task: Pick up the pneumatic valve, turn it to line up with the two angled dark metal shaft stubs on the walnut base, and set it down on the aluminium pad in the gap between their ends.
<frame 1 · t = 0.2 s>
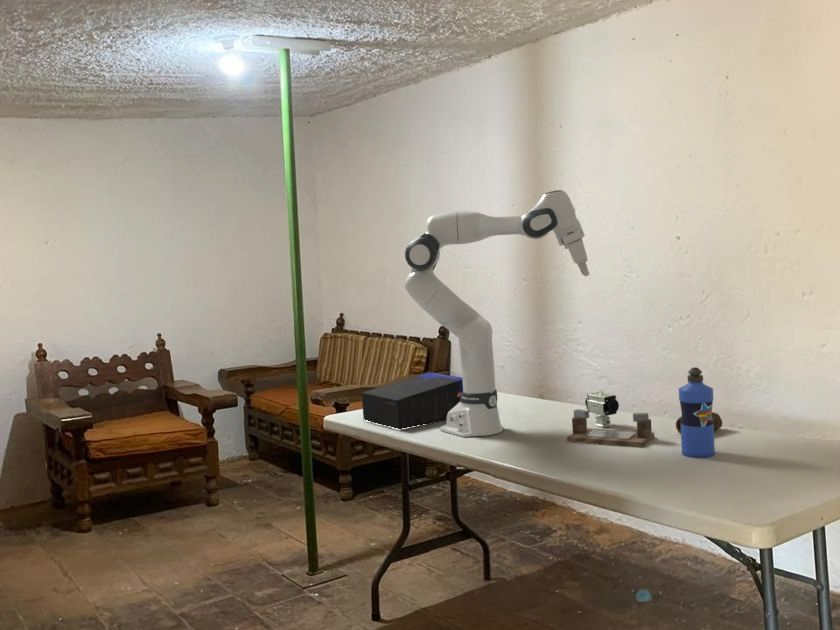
hand: (586, 274, 272), 51 cm above the table, tool tilted 20°, fingers open, 8 cm apart
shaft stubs: (610, 423, 259), point 5 cm above the table
shaft rig base: (610, 439, 259), on the table
pneumatic valve: (601, 427, 277), on the table
water bottle: (698, 454, 237), on the table
brown wooden cylinder: (699, 434, 260), on the table
headphone box: (419, 418, 311), on the table
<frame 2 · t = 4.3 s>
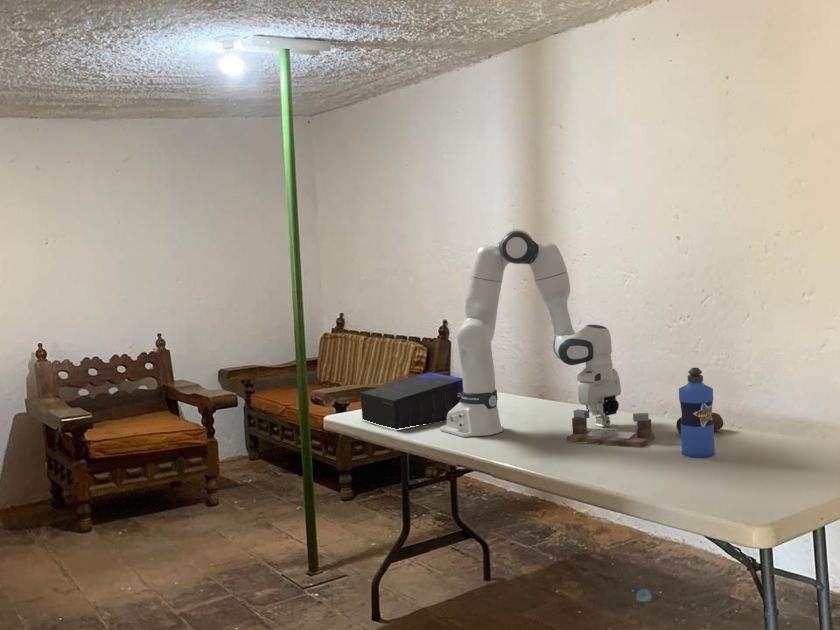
hand: (601, 413, 276), 5 cm above the table, tool pointing down, fingers closed on pneumatic valve, 5 cm apart
pneumatic valve: (601, 427, 277), on the table, touching gripper
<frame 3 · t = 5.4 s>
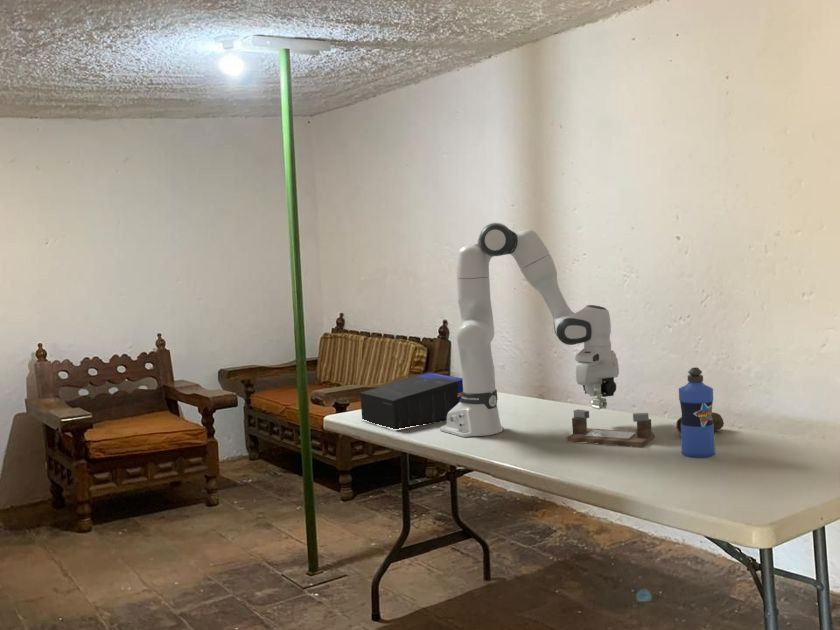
hand: (598, 394, 276), 11 cm above the table, tool pointing down, fingers closed on pneumatic valve, 5 cm apart
pneumatic valve: (598, 409, 276), point 6 cm above the table, touching gripper
everything else where it was.
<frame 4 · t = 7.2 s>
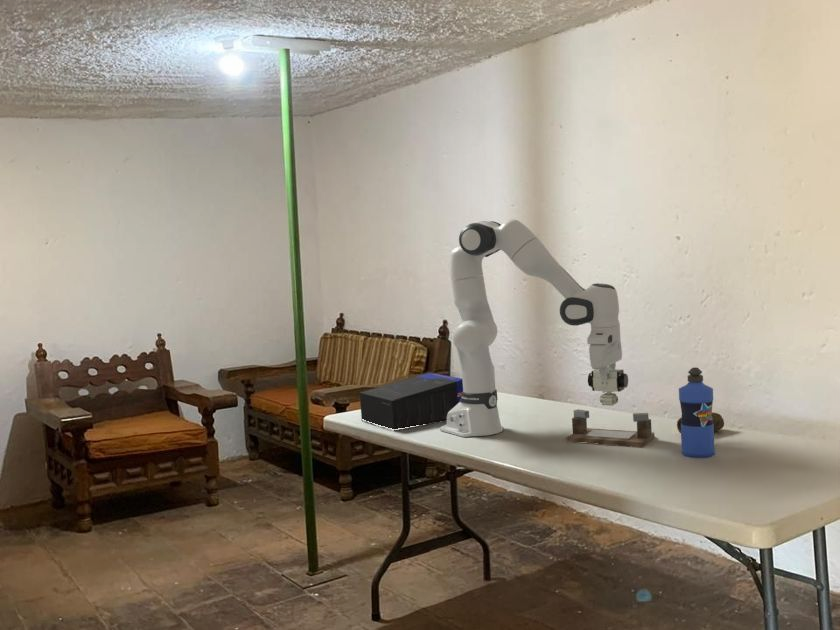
hand: (608, 378, 258), 19 cm above the table, tool pointing down, fingers closed on pneumatic valve, 5 cm apart
pneumatic valve: (608, 405, 259), point 11 cm above the table, touching gripper
when the fingers open (10 cm above the table, at t = 8.6 s): pneumatic valve stays where it is, resting on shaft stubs.
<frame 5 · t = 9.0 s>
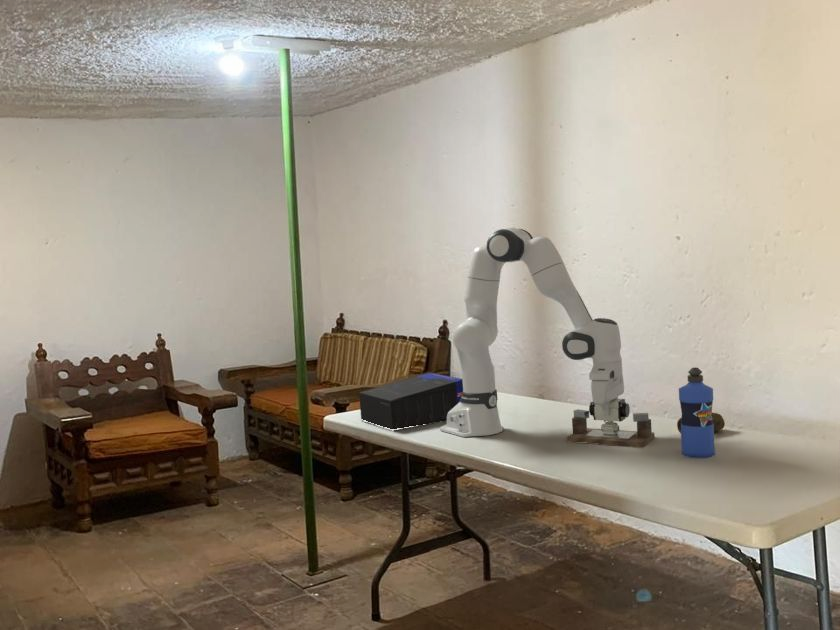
hand: (610, 413, 258), 8 cm above the table, tool pointing down, fingers open, 5 cm apart
pneumatic valve: (610, 434, 259), point 2 cm above the table, touching gripper, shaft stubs
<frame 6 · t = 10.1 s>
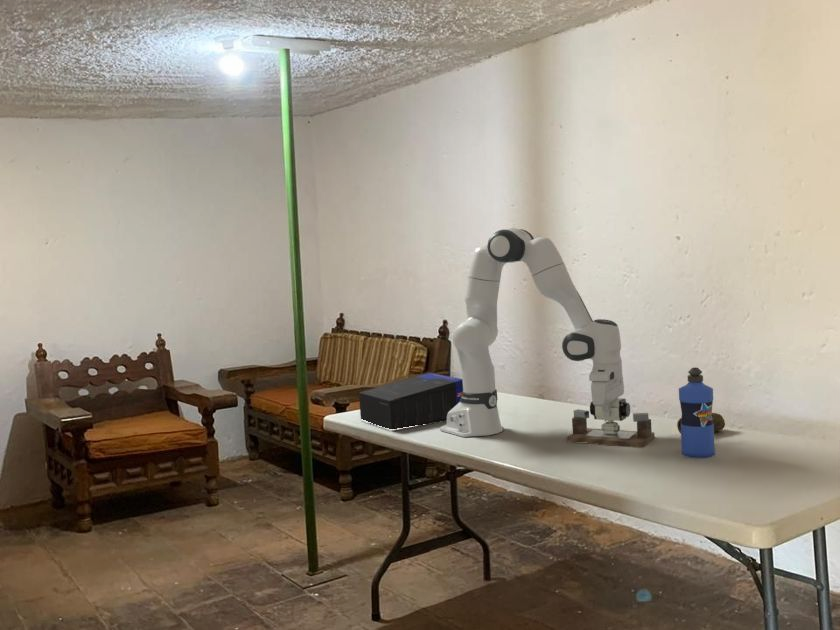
hand: (610, 414, 258), 8 cm above the table, tool pointing down, fingers closed on pneumatic valve, 4 cm apart
pneumatic valve: (610, 434, 259), point 2 cm above the table, touching gripper, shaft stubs
when the fingers open (8 cm above the table, at t = 10.1 s): pneumatic valve stays where it is, resting on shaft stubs.
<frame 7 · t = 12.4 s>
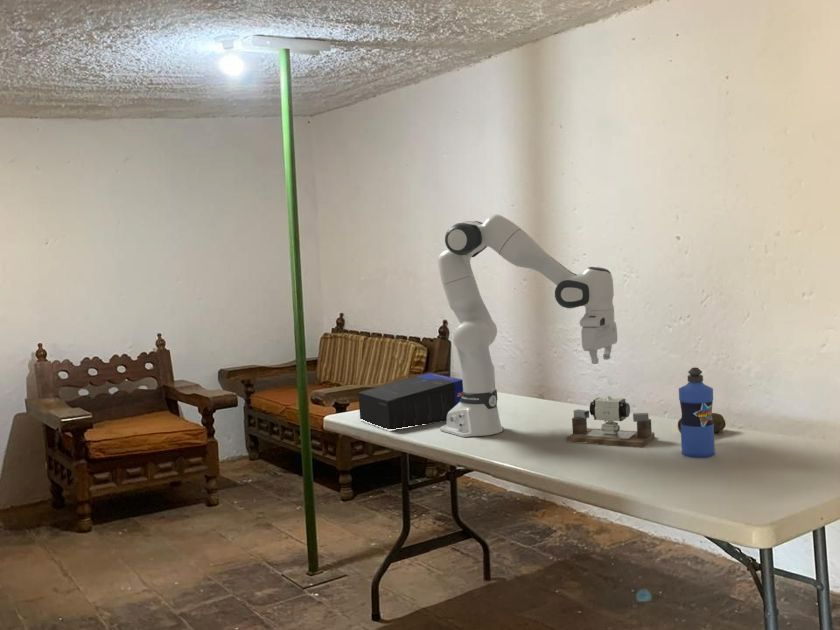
hand: (601, 361, 261), 24 cm above the table, tool pointing down, fingers open, 8 cm apart
pneumatic valve: (610, 434, 259), point 2 cm above the table, touching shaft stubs
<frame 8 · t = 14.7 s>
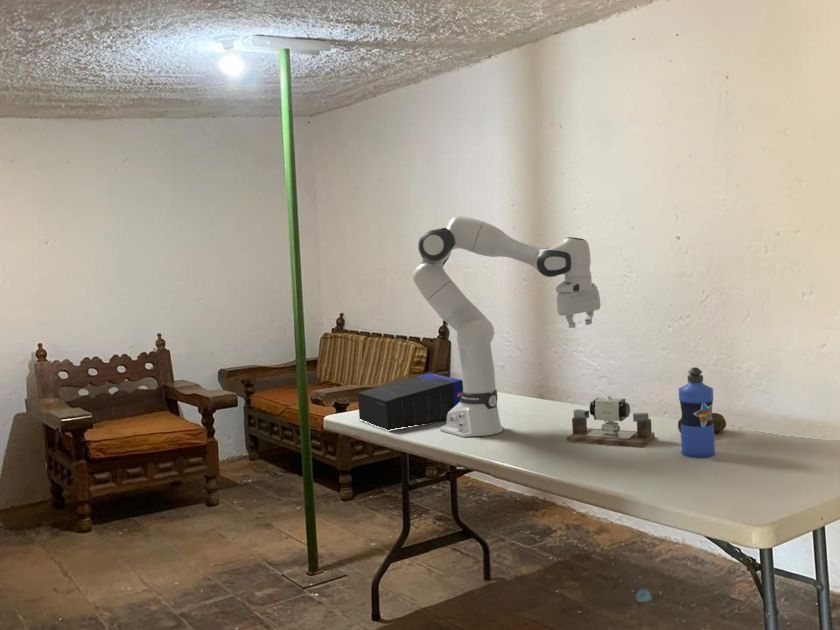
hand: (580, 326, 277), 34 cm above the table, tool pointing down, fingers open, 8 cm apart
at the end: pneumatic valve 0.1 cm off-centre on the shaft rig base, point 1.6 cm above the shaft rig base's base; pneumatic valve tilted 0°; the gripper is holding nothing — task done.
